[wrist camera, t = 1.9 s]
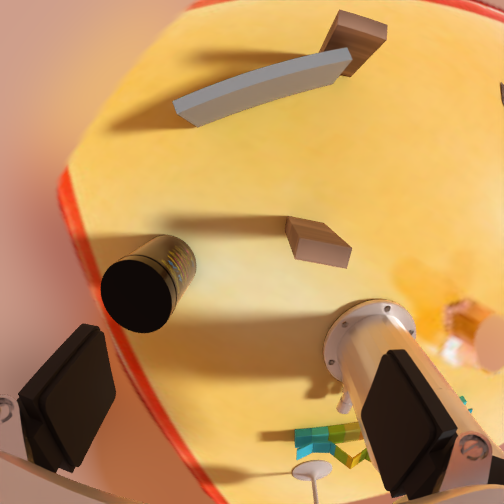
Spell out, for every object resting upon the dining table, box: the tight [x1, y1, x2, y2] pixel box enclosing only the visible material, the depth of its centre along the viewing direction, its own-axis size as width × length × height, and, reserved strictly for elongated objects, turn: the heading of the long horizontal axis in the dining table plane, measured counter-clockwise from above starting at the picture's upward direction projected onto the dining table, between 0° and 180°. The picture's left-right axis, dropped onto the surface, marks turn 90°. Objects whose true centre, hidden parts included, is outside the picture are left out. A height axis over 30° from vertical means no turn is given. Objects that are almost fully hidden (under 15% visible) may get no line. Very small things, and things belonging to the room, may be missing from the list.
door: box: [172, 47, 353, 127], centre depth 24 cm, size 15×2×8 cm, turn 110°
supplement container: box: [101, 235, 196, 333], centre depth 29 cm, size 7×7×10 cm
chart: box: [295, 396, 473, 469], centre depth 33 cm, size 30×3×15 cm, turn 94°
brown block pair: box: [285, 10, 387, 269], centre depth 25 cm, size 20×4×11 cm, turn 170°
